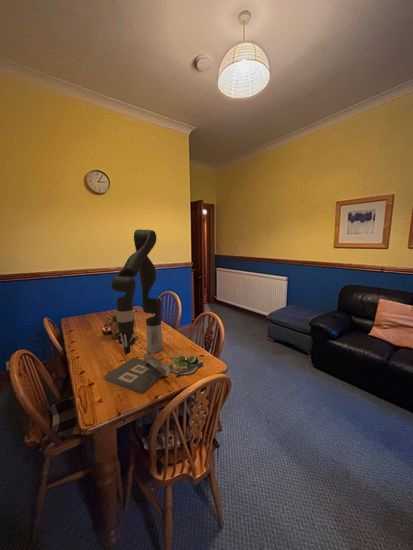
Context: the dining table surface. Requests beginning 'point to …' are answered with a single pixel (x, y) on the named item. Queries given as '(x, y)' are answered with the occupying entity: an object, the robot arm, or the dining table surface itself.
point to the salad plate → (185, 364)
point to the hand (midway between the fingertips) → (127, 353)
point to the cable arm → (157, 364)
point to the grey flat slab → (135, 375)
